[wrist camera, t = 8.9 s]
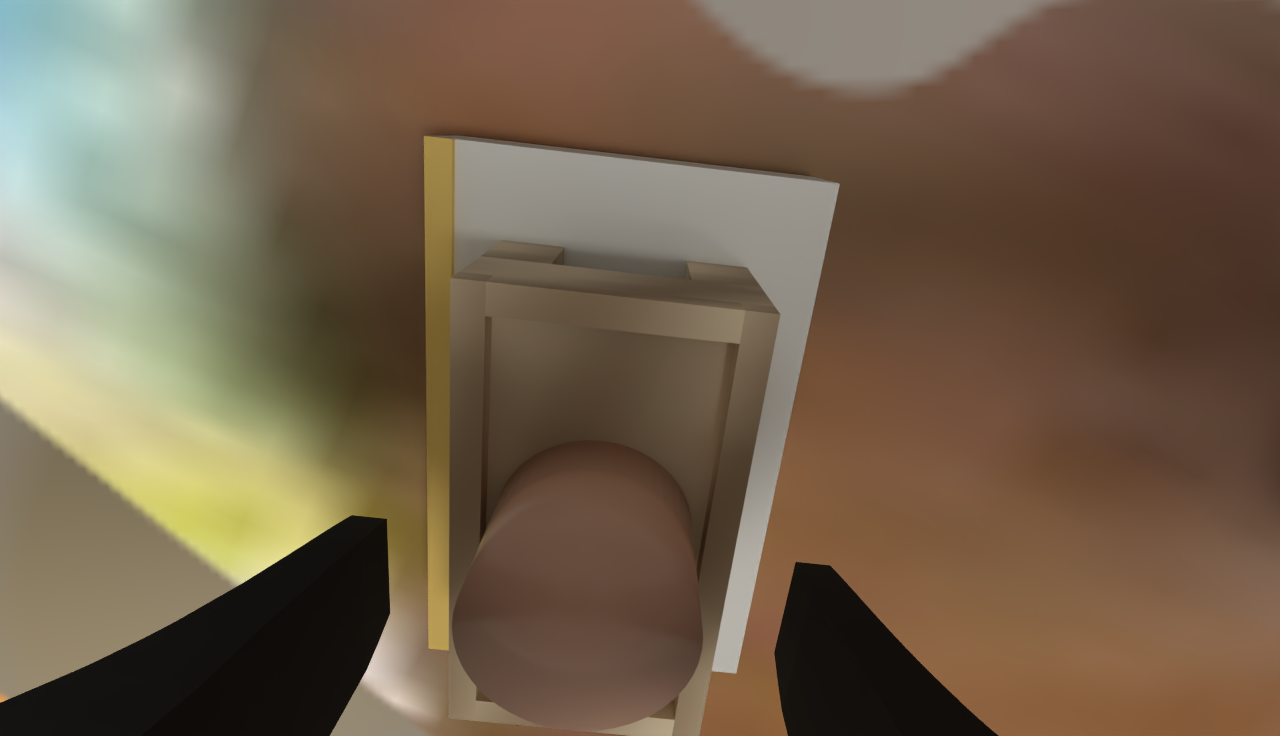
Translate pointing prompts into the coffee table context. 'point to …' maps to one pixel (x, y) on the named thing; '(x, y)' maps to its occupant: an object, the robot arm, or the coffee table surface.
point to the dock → (634, 243)
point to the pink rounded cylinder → (583, 591)
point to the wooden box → (606, 410)
